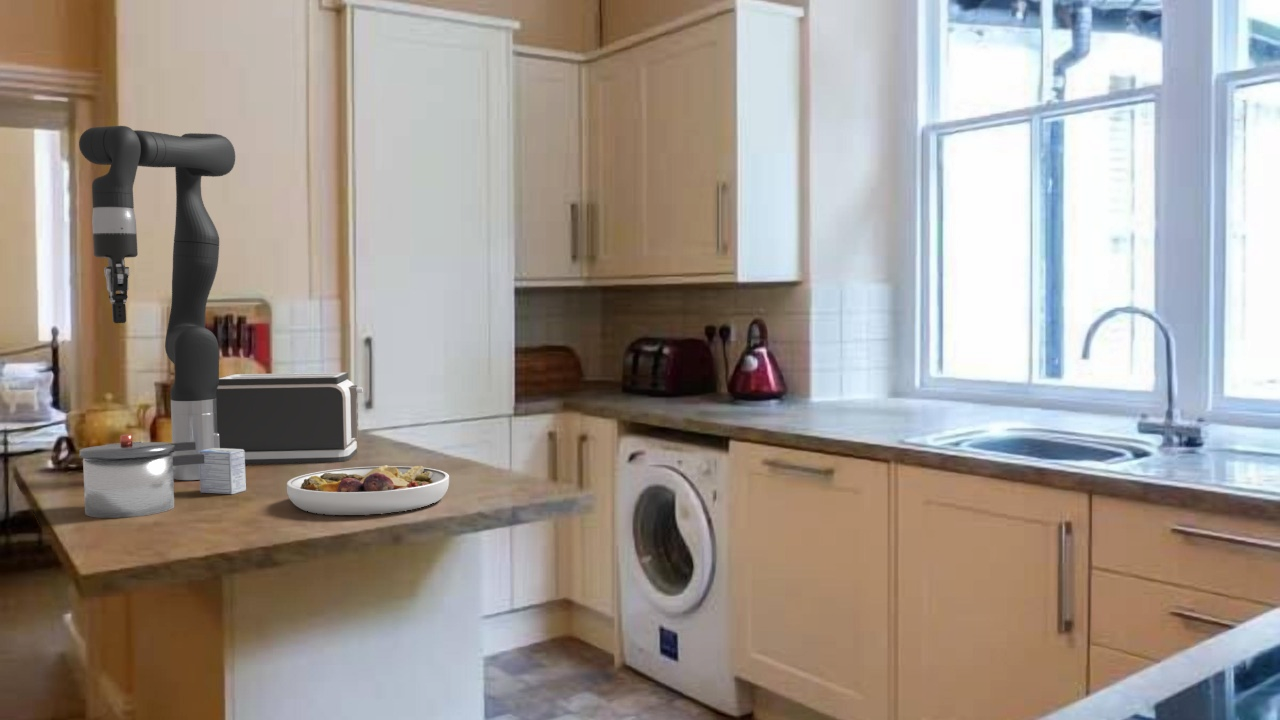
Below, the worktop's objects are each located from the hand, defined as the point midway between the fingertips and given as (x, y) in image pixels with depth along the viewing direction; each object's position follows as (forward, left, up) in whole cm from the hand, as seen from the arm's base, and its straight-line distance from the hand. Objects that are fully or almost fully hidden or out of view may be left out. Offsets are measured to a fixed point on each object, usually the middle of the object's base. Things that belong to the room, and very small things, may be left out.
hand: (119, 322), depth 205 cm
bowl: (-40, +27, -35) cm, 60 cm away
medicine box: (-18, 0, -35) cm, 39 cm away
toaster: (-41, -41, -35) cm, 67 cm away
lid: (-2, +9, -24) cm, 26 cm away
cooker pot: (-3, +9, -35) cm, 36 cm away
